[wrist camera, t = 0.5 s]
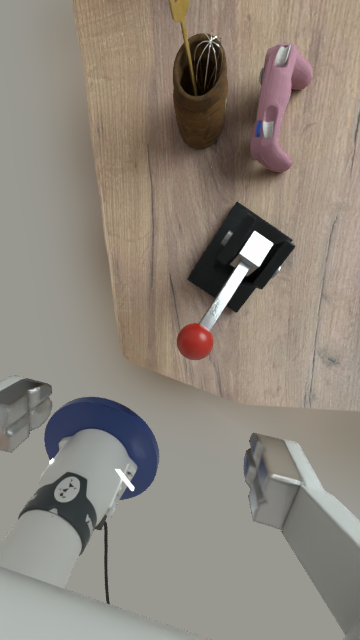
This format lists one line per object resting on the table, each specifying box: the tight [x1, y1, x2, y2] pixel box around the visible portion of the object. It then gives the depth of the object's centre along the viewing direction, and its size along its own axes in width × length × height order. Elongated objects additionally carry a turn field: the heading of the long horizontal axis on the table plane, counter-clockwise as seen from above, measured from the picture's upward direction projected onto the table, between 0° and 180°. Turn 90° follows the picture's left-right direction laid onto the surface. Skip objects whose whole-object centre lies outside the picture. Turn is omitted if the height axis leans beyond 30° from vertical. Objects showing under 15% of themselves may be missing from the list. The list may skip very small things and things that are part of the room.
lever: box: [177, 231, 273, 360], centre depth 17 cm, size 13×3×3 cm, turn 146°
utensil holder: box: [169, 0, 228, 149], centre depth 19 cm, size 6×6×12 cm
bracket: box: [188, 202, 295, 312], centre depth 22 cm, size 12×9×12 cm
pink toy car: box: [250, 43, 313, 172], centre depth 21 cm, size 10×5×7 cm
